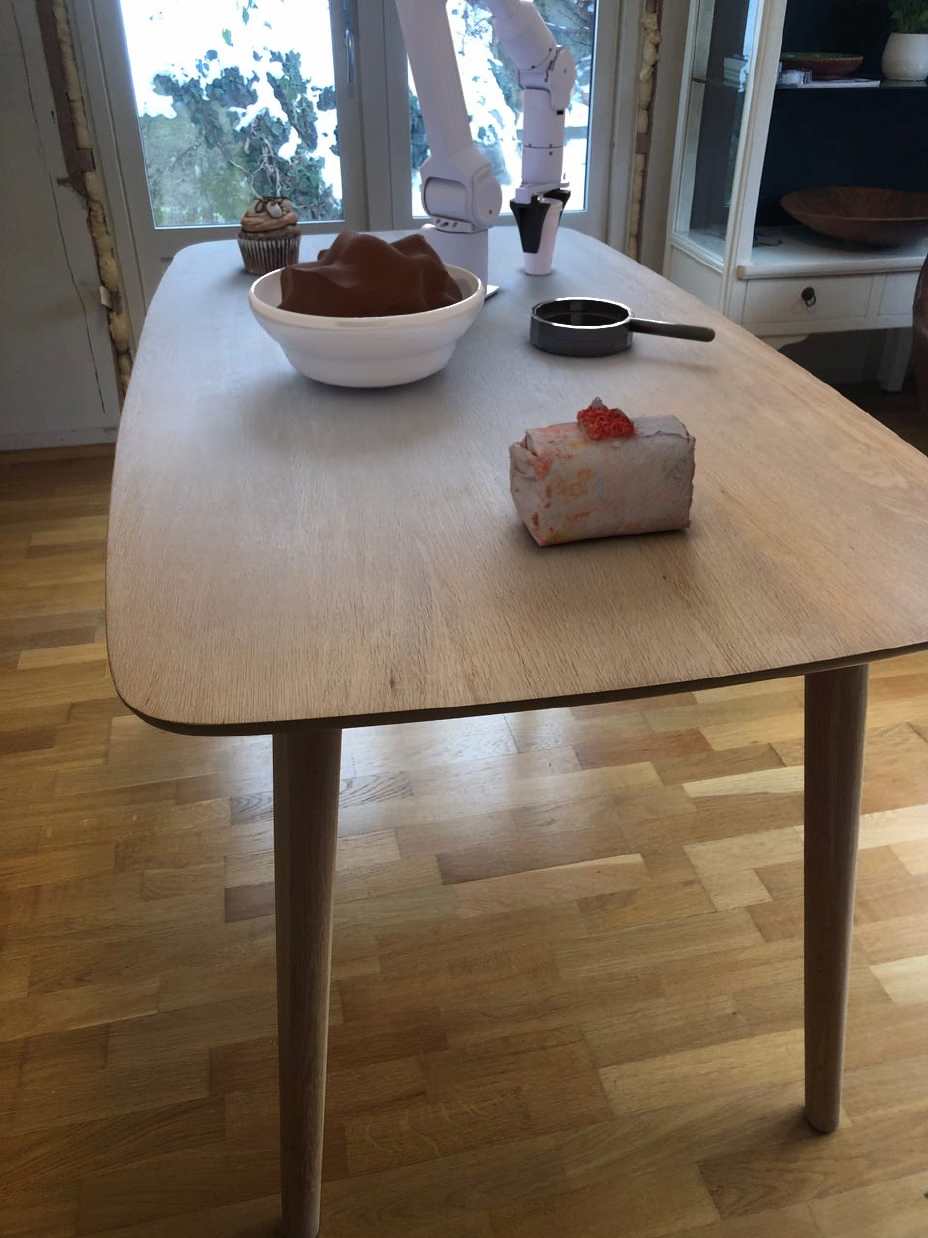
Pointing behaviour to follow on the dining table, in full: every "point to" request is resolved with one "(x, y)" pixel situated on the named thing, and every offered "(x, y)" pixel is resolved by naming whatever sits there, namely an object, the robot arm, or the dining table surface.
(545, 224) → the smoothie
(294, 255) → the cupcake
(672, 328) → the pan handle
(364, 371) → the bowl of chocolate mousse
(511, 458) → the food item
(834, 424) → the dining table surface
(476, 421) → the dining table surface
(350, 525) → the dining table surface
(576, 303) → the pan
